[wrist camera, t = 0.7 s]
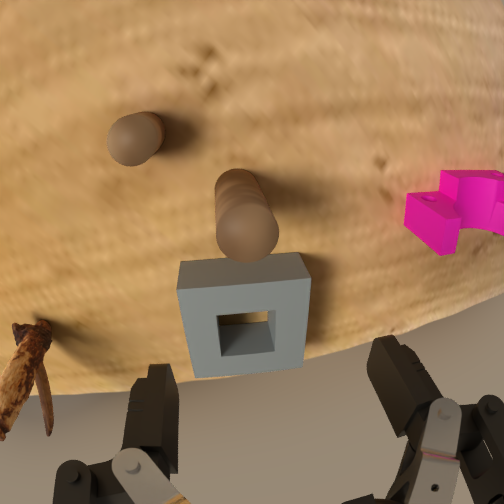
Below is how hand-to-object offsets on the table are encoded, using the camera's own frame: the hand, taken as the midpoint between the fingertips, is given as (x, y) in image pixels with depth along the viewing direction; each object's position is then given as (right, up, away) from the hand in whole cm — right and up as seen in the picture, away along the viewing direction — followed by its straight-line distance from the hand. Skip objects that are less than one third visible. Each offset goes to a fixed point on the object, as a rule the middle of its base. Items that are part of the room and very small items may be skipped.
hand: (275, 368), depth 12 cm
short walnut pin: (-10, +15, +14) cm, 23 cm away
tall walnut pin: (-2, +10, +18) cm, 20 cm away
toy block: (+23, +11, +21) cm, 33 cm away
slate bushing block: (-2, -1, +24) cm, 24 cm away
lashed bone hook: (-27, -6, +23) cm, 36 cm away
